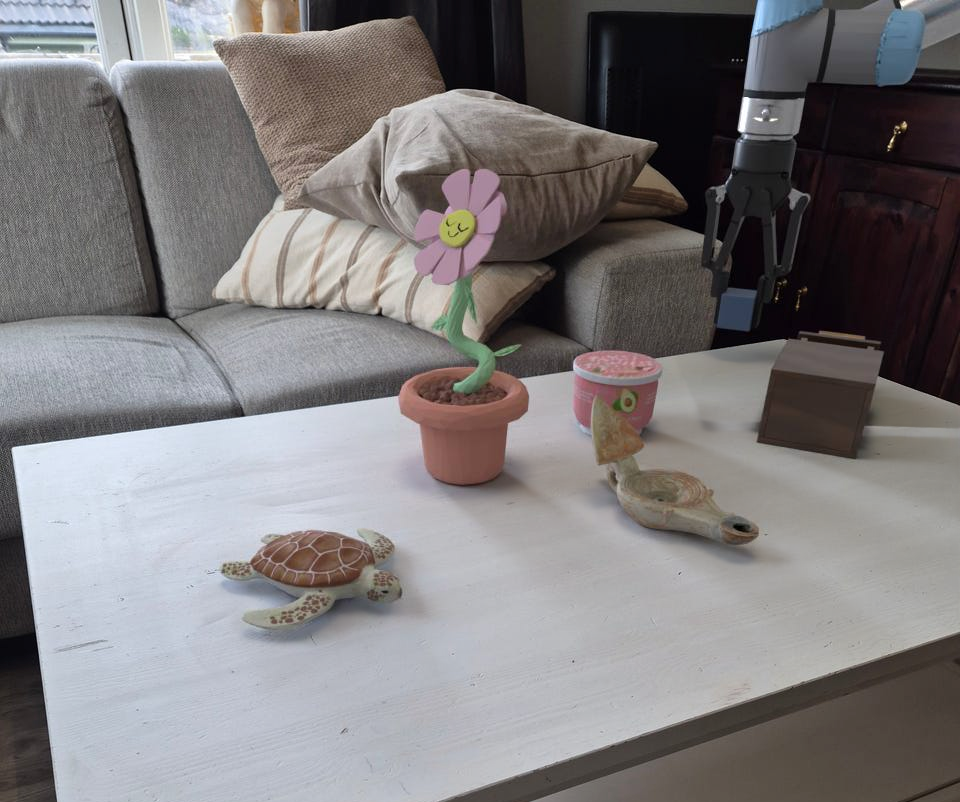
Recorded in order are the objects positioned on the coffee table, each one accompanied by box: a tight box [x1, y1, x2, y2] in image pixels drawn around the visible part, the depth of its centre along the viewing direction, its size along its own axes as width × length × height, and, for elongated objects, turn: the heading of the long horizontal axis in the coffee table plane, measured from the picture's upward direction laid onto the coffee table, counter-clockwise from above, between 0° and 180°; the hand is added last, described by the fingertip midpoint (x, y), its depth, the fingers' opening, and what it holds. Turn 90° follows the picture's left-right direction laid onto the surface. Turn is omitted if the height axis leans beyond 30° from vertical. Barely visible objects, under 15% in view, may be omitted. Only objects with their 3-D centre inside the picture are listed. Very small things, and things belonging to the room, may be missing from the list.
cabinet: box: [756, 338, 885, 460], centre depth 111 cm, size 13×11×9 cm
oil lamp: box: [590, 395, 760, 546], centre depth 90 cm, size 9×21×10 cm, turn 40°
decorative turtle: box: [219, 527, 403, 631], centre depth 79 cm, size 18×17×5 cm
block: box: [716, 287, 757, 332], centre depth 129 cm, size 4×4×4 cm
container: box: [572, 350, 663, 436], centre depth 111 cm, size 10×10×8 cm
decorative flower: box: [397, 168, 530, 486], centre depth 93 cm, size 15×14×30 cm
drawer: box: [796, 330, 882, 351], centre depth 120 cm, size 19×10×7 cm, turn 156°
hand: (736, 323), depth 130 cm, fingers closed on block, 4 cm apart
